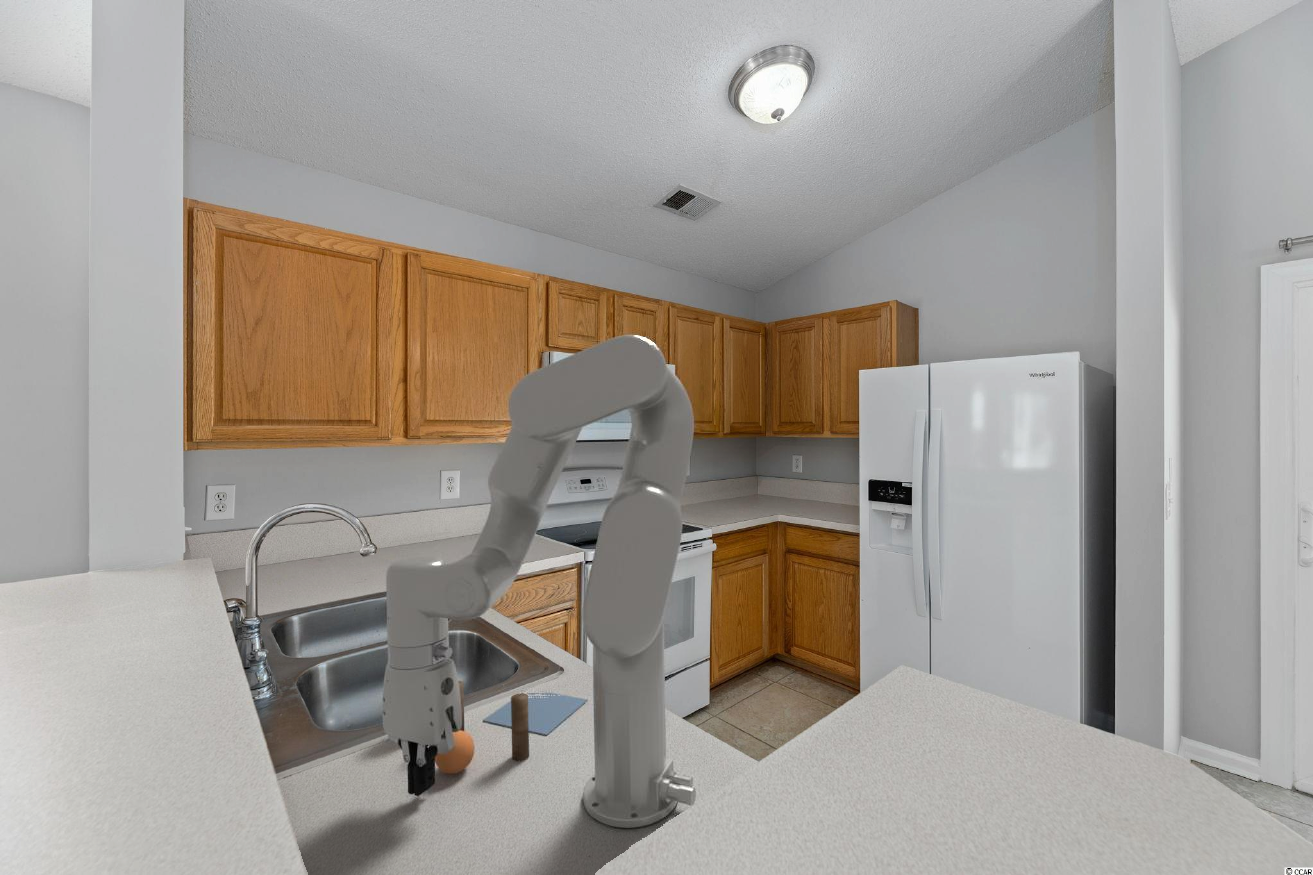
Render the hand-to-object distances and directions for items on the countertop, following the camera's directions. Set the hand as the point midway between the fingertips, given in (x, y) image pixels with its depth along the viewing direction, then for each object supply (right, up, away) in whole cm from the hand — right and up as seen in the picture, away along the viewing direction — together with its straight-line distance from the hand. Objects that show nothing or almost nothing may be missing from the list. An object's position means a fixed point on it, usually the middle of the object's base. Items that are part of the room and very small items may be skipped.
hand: (421, 788), depth 75 cm
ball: (+2, +1, +6) cm, 7 cm away
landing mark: (+10, -1, +24) cm, 26 cm away
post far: (-1, -2, +15) cm, 15 cm away
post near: (+11, -1, +10) cm, 15 cm away
